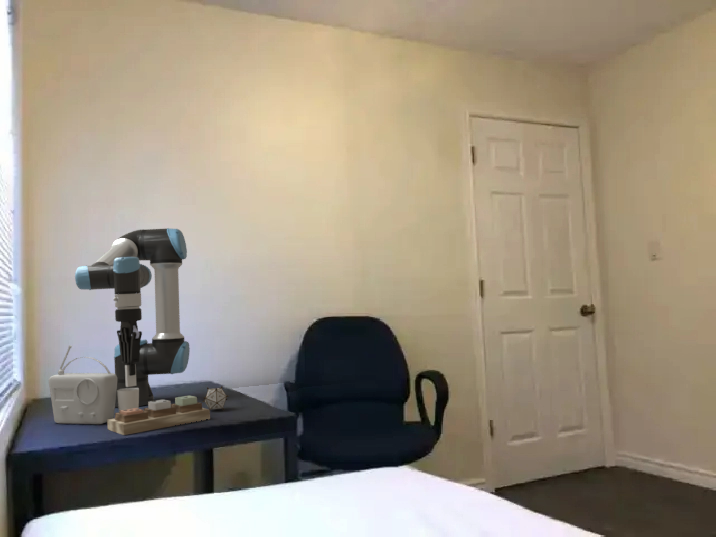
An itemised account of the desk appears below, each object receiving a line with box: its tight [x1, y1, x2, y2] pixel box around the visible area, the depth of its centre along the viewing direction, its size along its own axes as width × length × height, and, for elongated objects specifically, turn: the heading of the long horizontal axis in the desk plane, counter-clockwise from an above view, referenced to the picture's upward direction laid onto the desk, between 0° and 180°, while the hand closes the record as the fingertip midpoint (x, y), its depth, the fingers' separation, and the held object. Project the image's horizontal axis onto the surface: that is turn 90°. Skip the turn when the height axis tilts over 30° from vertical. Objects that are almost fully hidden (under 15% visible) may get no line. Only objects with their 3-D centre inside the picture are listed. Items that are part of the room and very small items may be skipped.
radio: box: [48, 344, 117, 425], centre depth 211 cm, size 22×8×25 cm, turn 75°
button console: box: [106, 401, 211, 436], centre depth 203 cm, size 12×28×5 cm, turn 132°
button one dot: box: [174, 395, 198, 406], centre depth 209 cm, size 5×5×3 cm
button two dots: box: [147, 399, 172, 410], centre depth 203 cm, size 5×5×3 cm
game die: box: [201, 385, 229, 411], centre depth 223 cm, size 9×8×10 cm
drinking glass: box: [117, 388, 140, 413], centre depth 211 cm, size 7×7×10 cm
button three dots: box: [120, 408, 144, 415], centre depth 197 cm, size 5×5×3 cm
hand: (131, 385), depth 198 cm, fingers closed
